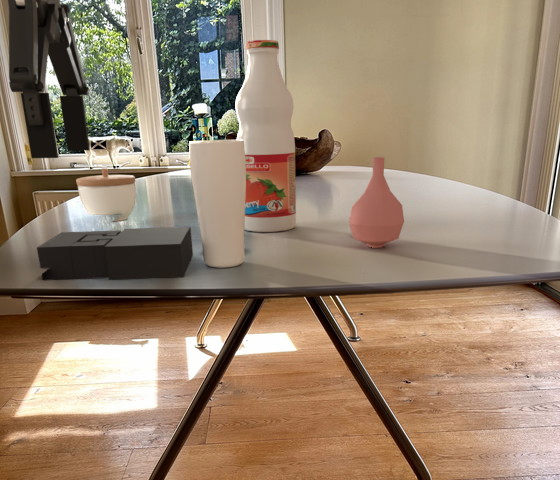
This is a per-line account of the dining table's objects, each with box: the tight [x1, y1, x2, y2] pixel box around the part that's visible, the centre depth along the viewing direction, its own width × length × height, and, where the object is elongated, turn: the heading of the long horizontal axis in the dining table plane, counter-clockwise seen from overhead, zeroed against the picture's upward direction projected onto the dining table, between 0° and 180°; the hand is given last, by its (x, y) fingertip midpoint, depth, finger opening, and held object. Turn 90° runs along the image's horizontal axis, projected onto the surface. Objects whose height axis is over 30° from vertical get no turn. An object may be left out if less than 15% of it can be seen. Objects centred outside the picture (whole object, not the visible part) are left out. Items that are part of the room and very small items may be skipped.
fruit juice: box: [235, 39, 297, 233], centre depth 96 cm, size 9×9×28 cm
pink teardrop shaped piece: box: [348, 156, 405, 249], centre depth 83 cm, size 8×8×12 cm
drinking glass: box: [188, 139, 246, 269], centre depth 75 cm, size 7×7×15 cm
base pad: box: [79, 226, 194, 281], centre depth 77 cm, size 13×12×4 cm
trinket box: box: [75, 167, 137, 223], centre depth 113 cm, size 11×11×9 cm
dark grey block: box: [36, 229, 122, 281], centre depth 76 cm, size 8×10×4 cm
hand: (63, 154), depth 72 cm, fingers open, 13 cm apart
